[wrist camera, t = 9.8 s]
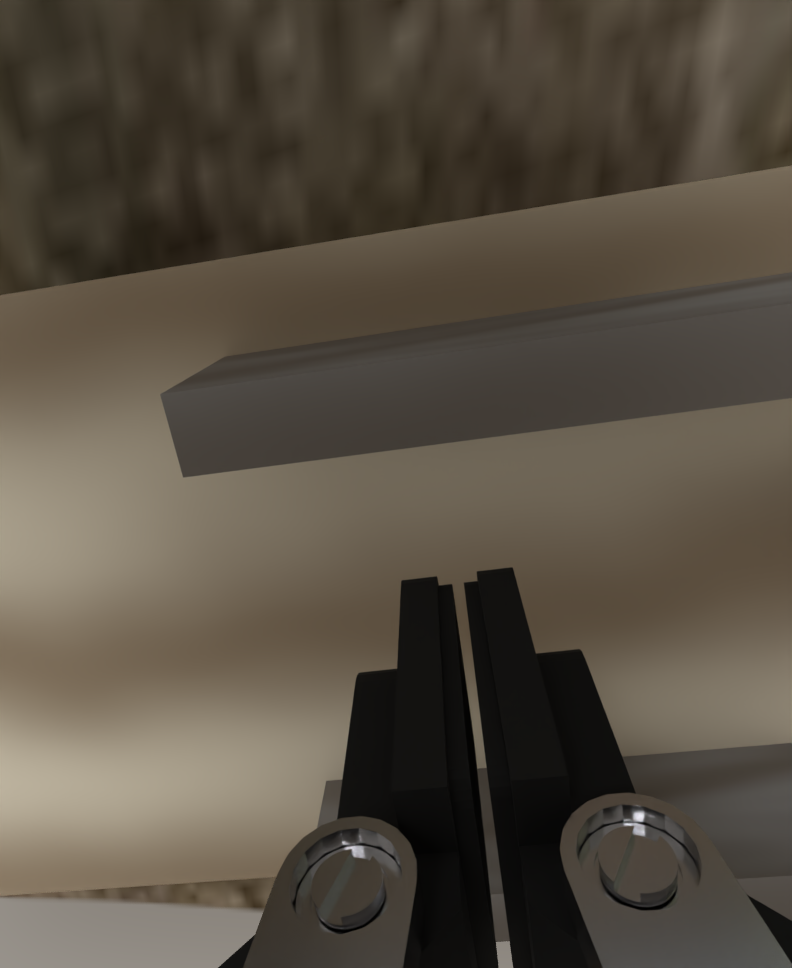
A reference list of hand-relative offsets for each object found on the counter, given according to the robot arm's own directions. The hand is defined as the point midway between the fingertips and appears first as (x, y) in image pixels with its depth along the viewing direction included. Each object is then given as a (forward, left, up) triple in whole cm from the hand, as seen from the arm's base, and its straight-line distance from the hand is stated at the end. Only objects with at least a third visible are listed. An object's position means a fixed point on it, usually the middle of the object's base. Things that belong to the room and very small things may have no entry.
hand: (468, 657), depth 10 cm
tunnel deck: (+1, +4, -6) cm, 7 cm away
